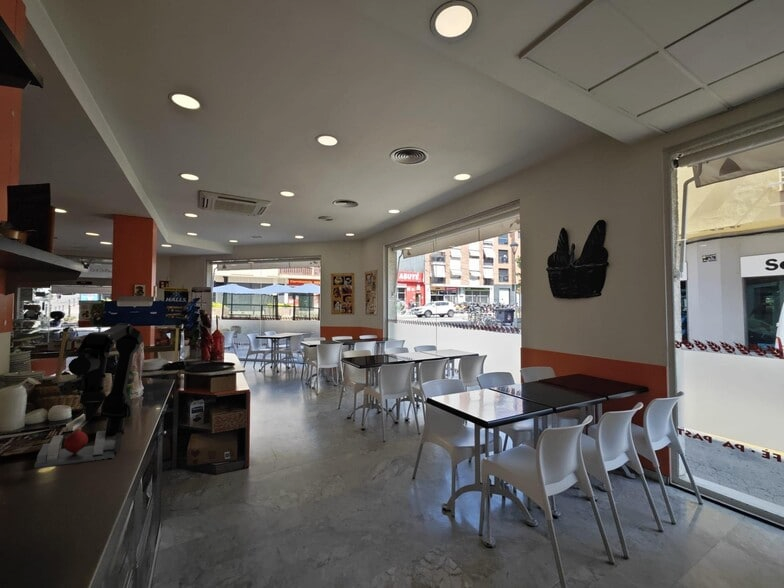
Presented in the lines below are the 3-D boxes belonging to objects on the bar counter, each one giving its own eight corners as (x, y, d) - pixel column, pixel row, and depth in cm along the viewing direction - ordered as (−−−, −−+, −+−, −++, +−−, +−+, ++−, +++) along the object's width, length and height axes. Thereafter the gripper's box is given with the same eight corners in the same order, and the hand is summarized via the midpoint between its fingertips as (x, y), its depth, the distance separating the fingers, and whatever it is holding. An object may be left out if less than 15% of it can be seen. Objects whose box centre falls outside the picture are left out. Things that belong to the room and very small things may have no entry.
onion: (71, 458, 112) (75, 432, 112) (57, 455, 113) (61, 429, 113) (90, 451, 117) (94, 427, 118) (76, 448, 118) (80, 424, 119)
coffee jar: (107, 413, 161) (114, 372, 163) (129, 412, 166) (135, 372, 167) (104, 419, 153) (111, 376, 155) (127, 418, 158) (133, 376, 159)
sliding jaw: (94, 446, 121) (96, 431, 122) (119, 443, 126) (122, 429, 126) (92, 455, 114) (95, 439, 115) (119, 452, 119) (122, 436, 119)
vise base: (41, 454, 114) (44, 435, 115) (114, 446, 126) (117, 429, 127) (34, 468, 105) (37, 447, 106) (114, 458, 117) (117, 439, 117)
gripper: (61, 366, 119) (53, 413, 118) (62, 376, 106) (53, 428, 105) (103, 366, 127) (95, 410, 126) (109, 374, 114) (101, 424, 112)
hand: (86, 417), depth 117 cm, fingers open, 9 cm apart
